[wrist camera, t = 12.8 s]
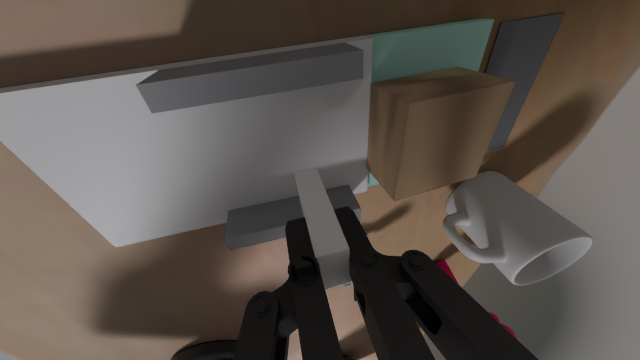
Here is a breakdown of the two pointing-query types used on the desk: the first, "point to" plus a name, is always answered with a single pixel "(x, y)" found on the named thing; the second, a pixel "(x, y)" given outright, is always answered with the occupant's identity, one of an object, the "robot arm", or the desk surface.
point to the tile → (428, 51)
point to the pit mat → (519, 63)
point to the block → (432, 128)
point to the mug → (512, 229)
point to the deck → (200, 140)
